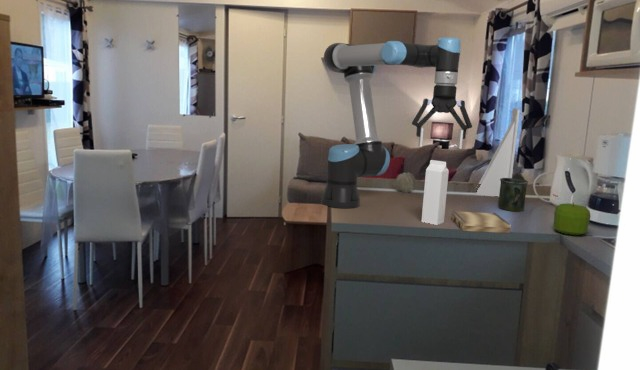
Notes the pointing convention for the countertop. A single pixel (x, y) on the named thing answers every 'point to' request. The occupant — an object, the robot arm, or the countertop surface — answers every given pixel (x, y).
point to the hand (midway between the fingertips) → (439, 147)
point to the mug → (512, 194)
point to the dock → (480, 222)
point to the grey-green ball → (405, 182)
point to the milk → (435, 192)
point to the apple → (571, 219)
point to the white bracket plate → (501, 160)
